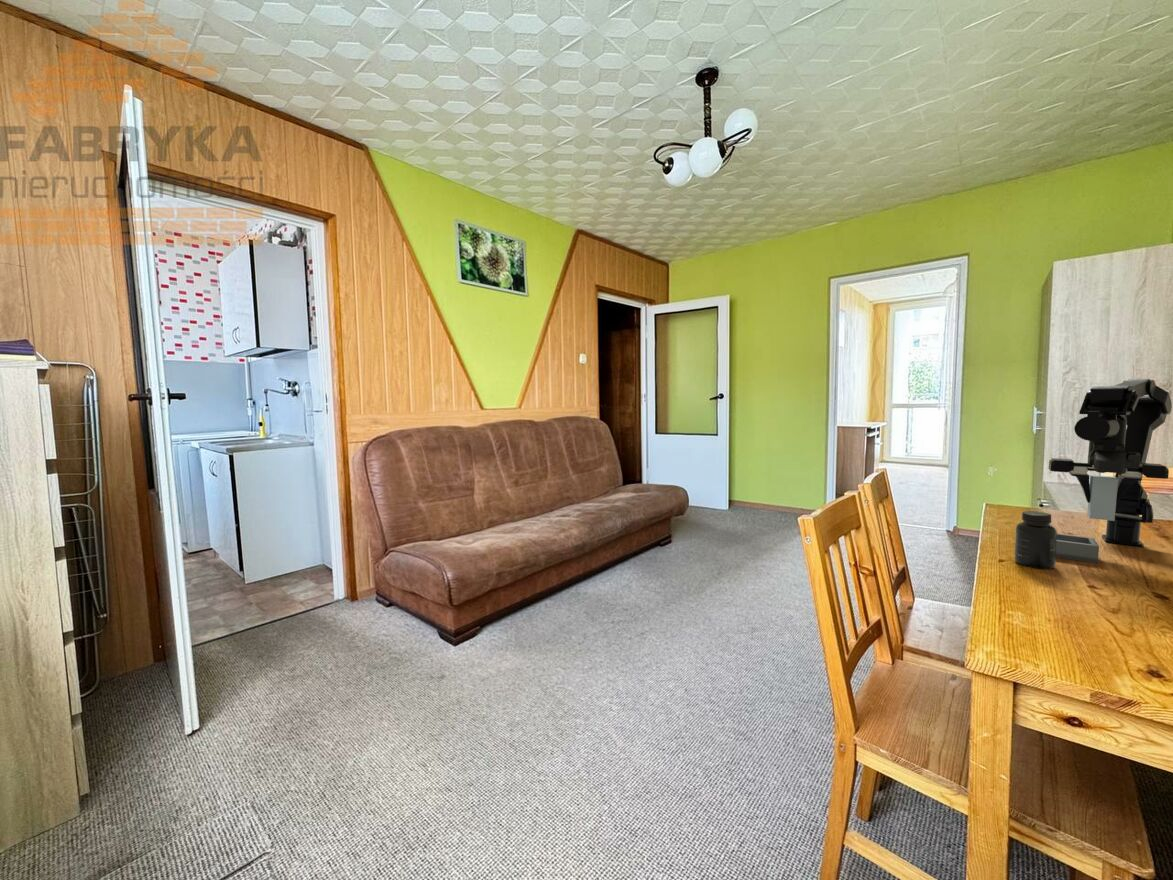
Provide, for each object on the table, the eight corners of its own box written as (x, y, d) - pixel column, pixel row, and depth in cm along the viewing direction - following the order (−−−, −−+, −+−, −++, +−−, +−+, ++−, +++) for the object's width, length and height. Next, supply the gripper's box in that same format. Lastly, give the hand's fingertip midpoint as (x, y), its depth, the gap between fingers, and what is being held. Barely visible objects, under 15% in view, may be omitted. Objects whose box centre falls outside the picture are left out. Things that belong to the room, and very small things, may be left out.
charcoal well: (1046, 547, 119) (1047, 532, 119) (1092, 553, 114) (1093, 537, 113) (1048, 556, 113) (1050, 539, 113) (1097, 563, 108) (1099, 546, 107)
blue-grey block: (1087, 515, 116) (1090, 475, 115) (1111, 517, 113) (1114, 476, 113) (1089, 518, 113) (1093, 477, 112) (1114, 520, 110) (1118, 478, 110)
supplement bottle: (1037, 559, 111) (1040, 509, 110) (1063, 569, 104) (1067, 517, 103) (1006, 558, 112) (1009, 509, 111) (1030, 569, 105) (1033, 517, 104)
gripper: (1055, 439, 112) (1050, 504, 113) (1179, 443, 99) (1172, 516, 101) (1050, 436, 120) (1046, 496, 121) (1164, 439, 108) (1158, 506, 109)
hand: (1101, 503), depth 113 cm, fingers closed on blue-grey block, 4 cm apart
